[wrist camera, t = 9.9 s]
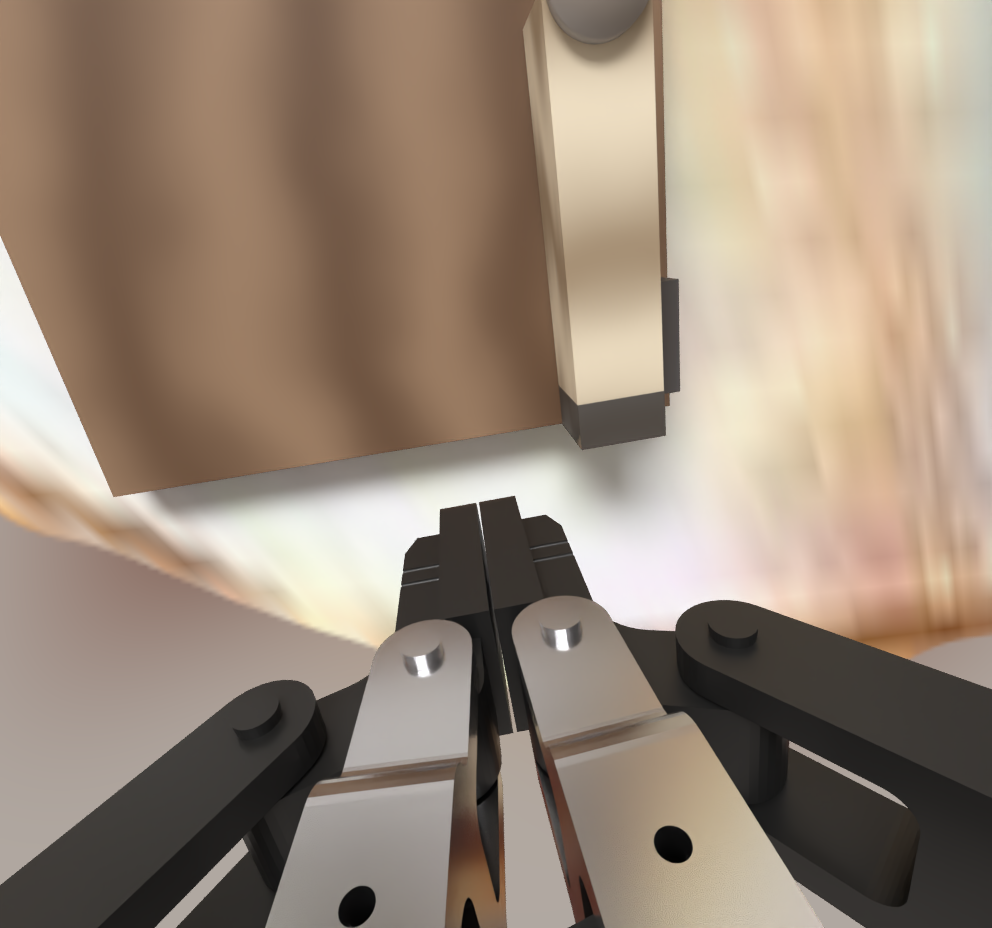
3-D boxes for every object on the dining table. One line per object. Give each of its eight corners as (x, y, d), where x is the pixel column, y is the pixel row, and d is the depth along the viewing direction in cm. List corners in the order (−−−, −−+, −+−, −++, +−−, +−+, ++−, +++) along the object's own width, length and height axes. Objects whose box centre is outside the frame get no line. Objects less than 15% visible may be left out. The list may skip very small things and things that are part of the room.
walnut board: (636, -74, 18) (680, -144, 15) (651, 393, 24) (685, 415, 21) (-53, 8, 17) (-165, -48, 14) (139, 477, 23) (91, 514, 20)
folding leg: (517, -26, 17) (537, -93, 14) (613, -38, 17) (657, -108, 14) (562, 423, 22) (585, 454, 19) (635, 411, 22) (670, 439, 19)
